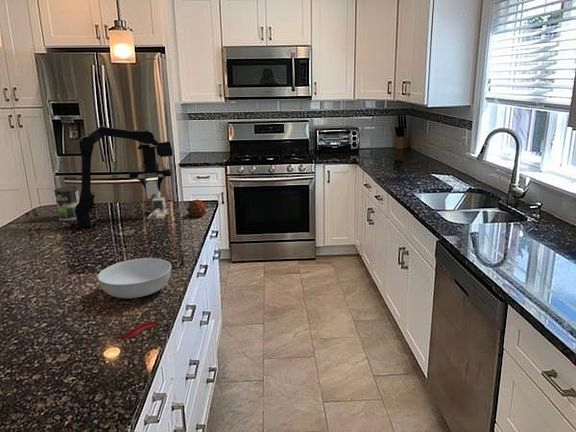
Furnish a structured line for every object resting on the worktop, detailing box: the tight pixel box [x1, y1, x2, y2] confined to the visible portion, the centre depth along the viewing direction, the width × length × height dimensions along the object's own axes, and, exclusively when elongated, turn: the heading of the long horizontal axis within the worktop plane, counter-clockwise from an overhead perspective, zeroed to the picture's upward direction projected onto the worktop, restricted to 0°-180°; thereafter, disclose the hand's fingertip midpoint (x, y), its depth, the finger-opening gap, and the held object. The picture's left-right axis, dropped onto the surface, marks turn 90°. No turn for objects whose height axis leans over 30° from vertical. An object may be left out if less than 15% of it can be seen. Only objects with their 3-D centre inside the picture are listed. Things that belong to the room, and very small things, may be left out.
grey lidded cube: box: [145, 180, 162, 200], centre depth 218 cm, size 6×5×7 cm
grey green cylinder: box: [53, 186, 80, 221], centre depth 223 cm, size 10×10×14 cm
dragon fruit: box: [186, 199, 207, 218], centre depth 221 cm, size 8×8×12 cm
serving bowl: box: [96, 257, 172, 299], centre depth 139 cm, size 21×21×7 cm
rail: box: [146, 196, 169, 221], centre depth 223 cm, size 16×7×7 cm, turn 5°
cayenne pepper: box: [116, 321, 161, 340], centre depth 117 cm, size 12×5×2 cm, turn 120°
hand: (153, 191), depth 218 cm, fingers closed on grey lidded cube, 5 cm apart
